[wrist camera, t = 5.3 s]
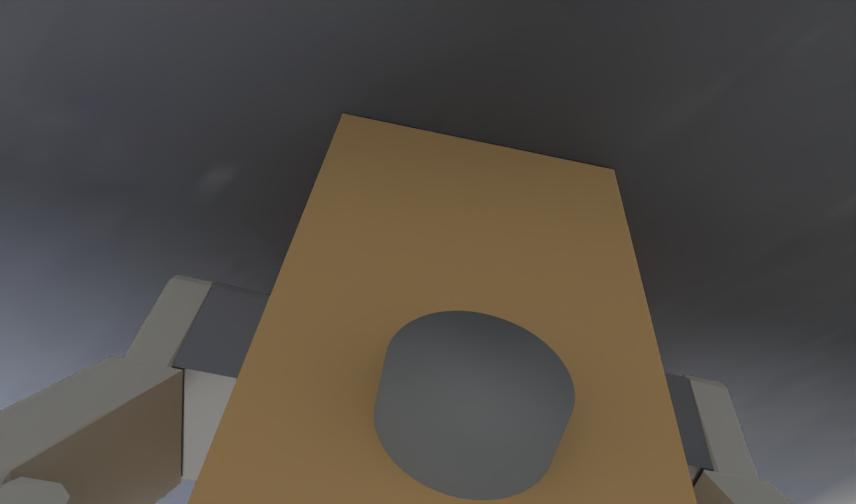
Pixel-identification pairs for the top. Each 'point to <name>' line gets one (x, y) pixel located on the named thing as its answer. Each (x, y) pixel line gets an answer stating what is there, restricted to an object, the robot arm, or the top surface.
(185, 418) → the robot arm
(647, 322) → the block
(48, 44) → the top surface
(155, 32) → the top surface
